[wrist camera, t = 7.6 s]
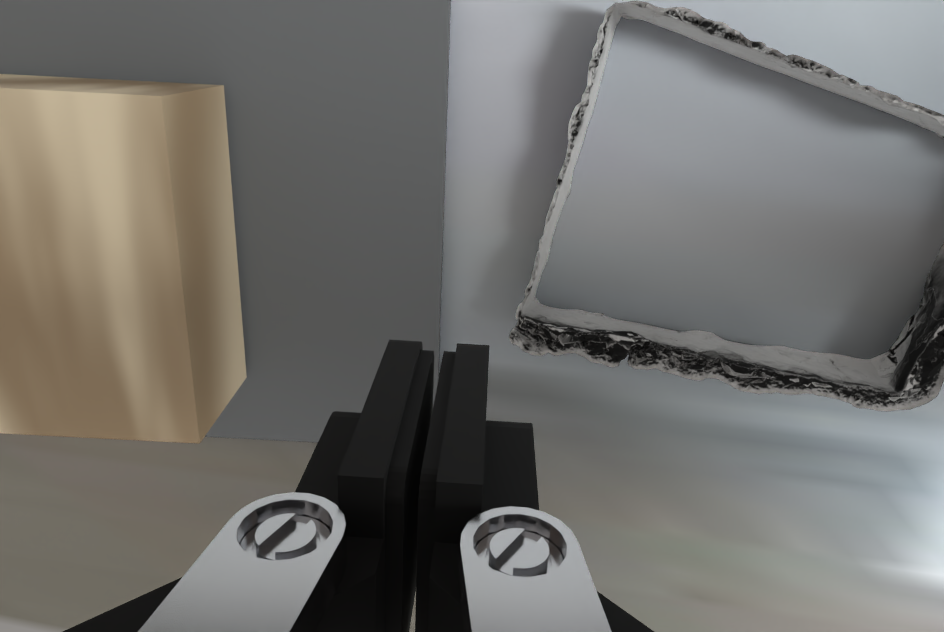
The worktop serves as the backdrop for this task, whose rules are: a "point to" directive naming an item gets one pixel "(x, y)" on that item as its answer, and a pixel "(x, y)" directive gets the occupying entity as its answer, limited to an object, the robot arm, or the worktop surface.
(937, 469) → the worktop surface
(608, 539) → the worktop surface
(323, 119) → the rubber mat
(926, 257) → the worktop surface
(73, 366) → the maple plaque
